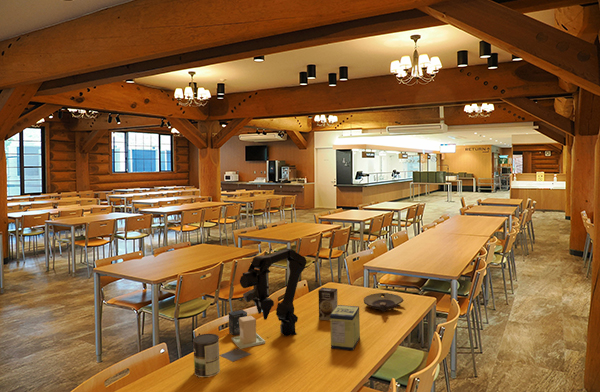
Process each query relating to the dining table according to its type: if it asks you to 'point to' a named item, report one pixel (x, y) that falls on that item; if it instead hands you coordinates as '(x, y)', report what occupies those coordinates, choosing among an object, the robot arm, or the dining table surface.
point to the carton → (247, 329)
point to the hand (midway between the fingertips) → (262, 316)
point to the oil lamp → (383, 301)
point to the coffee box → (327, 302)
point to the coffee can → (206, 355)
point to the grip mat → (235, 354)
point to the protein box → (345, 327)
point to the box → (235, 321)
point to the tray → (241, 345)
